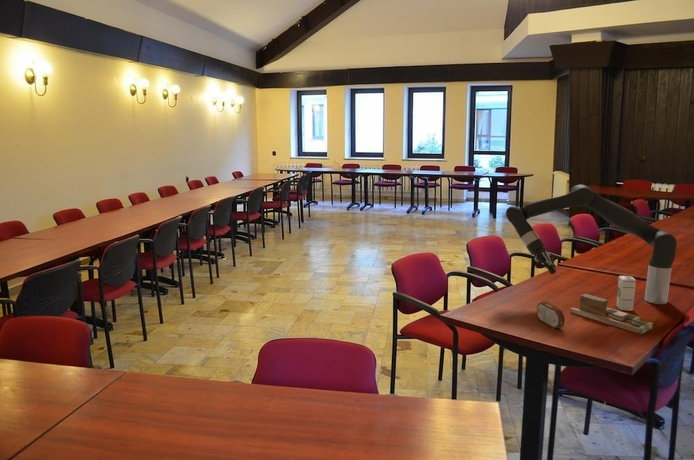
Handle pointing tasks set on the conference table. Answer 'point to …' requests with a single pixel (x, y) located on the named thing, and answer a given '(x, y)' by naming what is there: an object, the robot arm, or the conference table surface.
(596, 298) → the block
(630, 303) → the syrup box
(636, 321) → the lane
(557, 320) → the tin
